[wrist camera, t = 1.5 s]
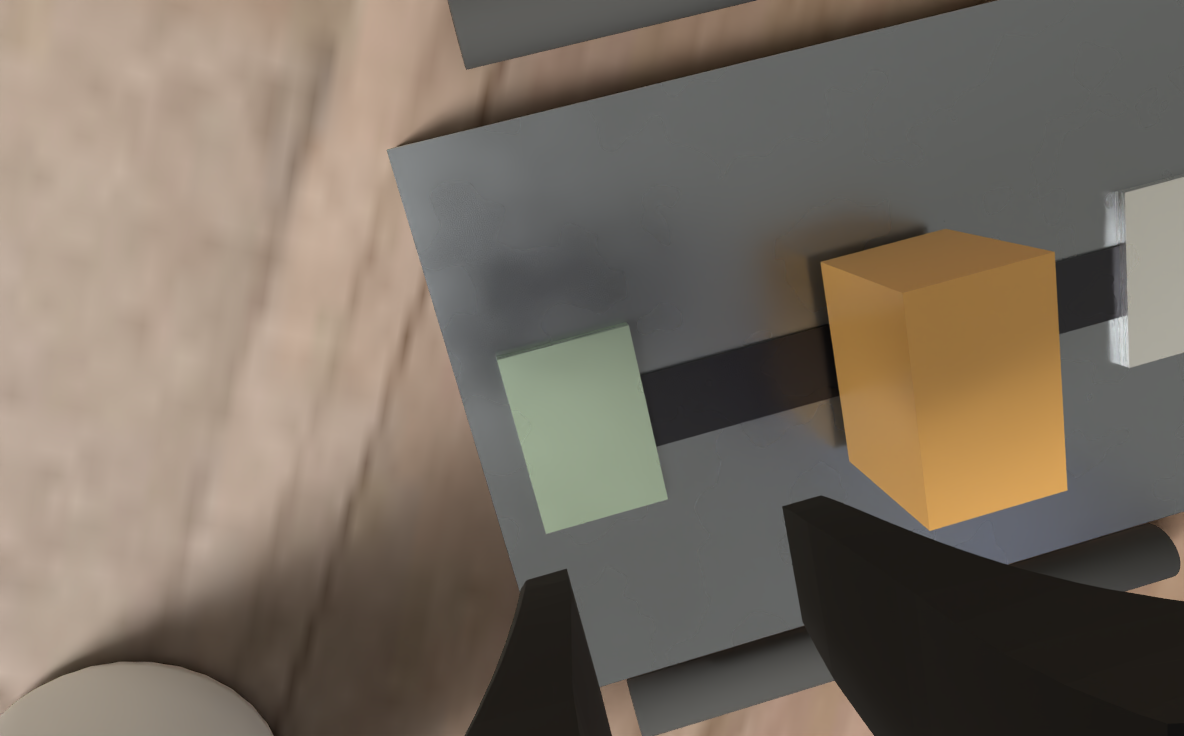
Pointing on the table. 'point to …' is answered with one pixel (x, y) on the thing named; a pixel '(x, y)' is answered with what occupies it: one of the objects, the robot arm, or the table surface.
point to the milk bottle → (133, 705)
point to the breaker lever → (950, 372)
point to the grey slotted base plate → (790, 659)
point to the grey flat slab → (796, 297)
